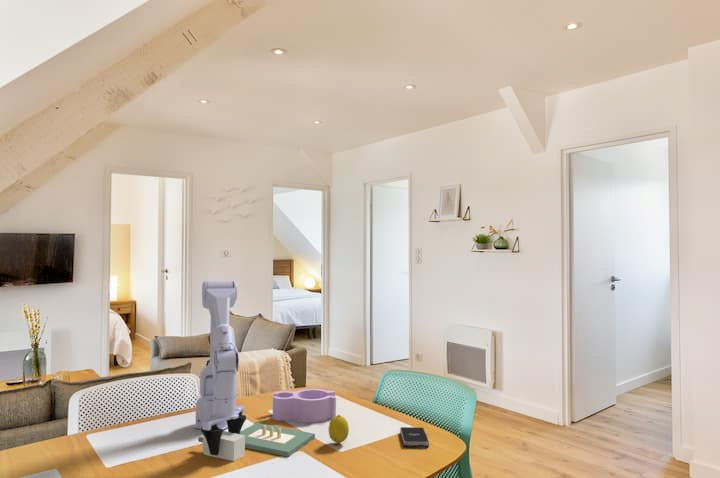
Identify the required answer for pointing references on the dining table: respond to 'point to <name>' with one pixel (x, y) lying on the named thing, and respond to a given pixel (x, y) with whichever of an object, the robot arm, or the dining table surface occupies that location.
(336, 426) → the lemon
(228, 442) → the plug housing
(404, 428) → the external hard drive
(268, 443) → the board
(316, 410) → the purple lobed piece
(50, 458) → the dining table surface
